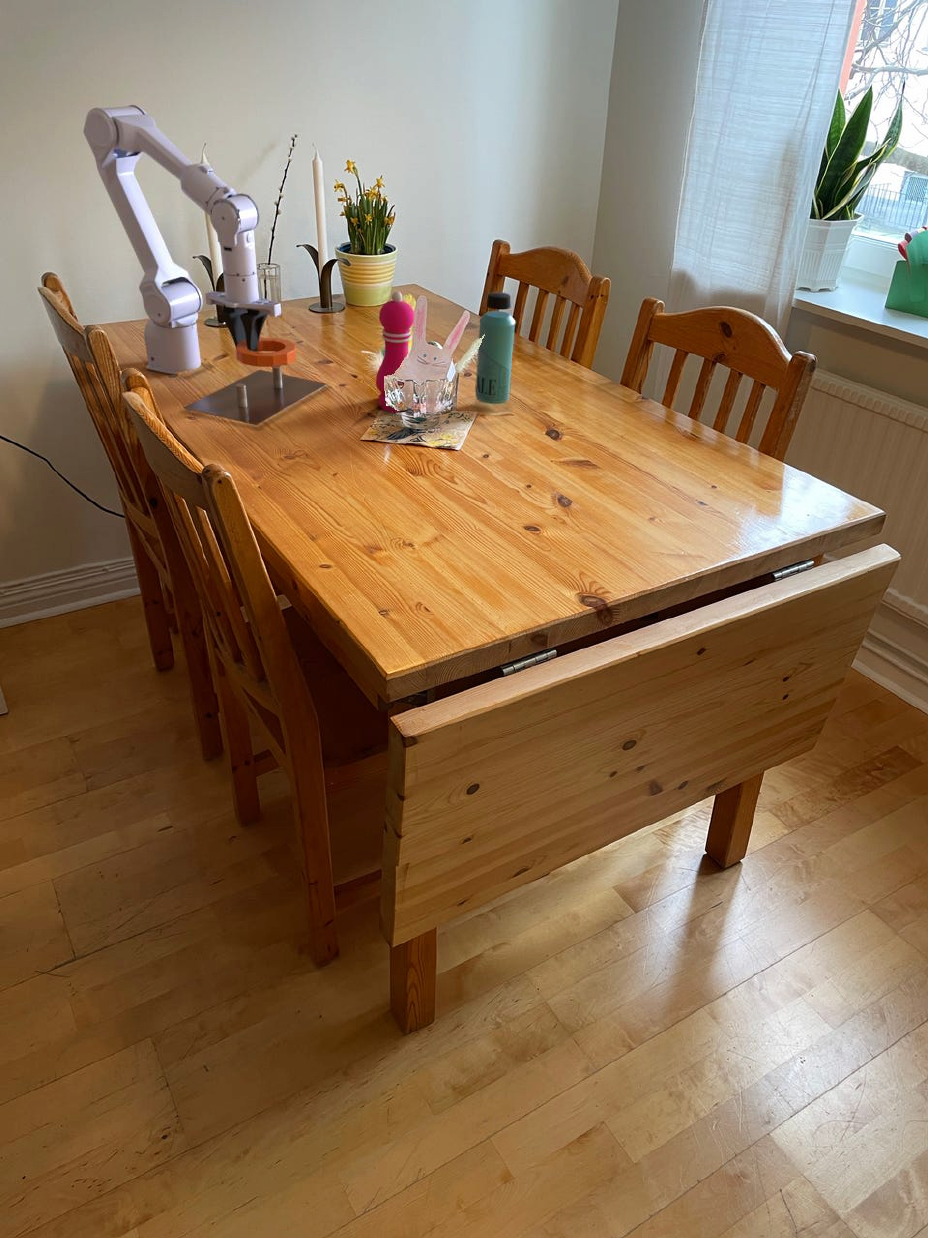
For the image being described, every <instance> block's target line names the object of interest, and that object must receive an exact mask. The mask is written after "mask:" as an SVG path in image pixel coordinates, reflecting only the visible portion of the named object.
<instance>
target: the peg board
mask: <svg viewBox="0 0 928 1238" xmlns="http://www.w3.org/2000/svg"><path fill="white" fill-rule="evenodd" d="M326 386H328V383H325V382H320V381H316V380H312V379H307V378H301V377H297V376H292V375H287V374H283V373H282V365H281V366H275V367H271V371H268V370H263V369H258V370H256V371H254V372H252V373H251V374H248V375H247V376H245V377H242V378H240V379H238V380H236V381H234V382H232V383H230V384H228V385H226V386H224V387H222V388H219V389H218V390H216V391H213V392H212V393H210V394H208V395H206V396H204V397H202V398H200V399H198V400H196V401H194V402H192V403H190V404H188V405H186V406H184V407H183V409H185V410H191V411H194V412H197V413H203V414H207V415H211V416H215V417H220V418H224V419H227V420H233V421H238V422H241V423H245V424H250V425H254V426H258V425H260V424H262V423H264V422H265V421H267V420H268V419H270V418H272V417H274V416H275V415H277V414H279V413H281V412H282V411H284V410H286V409H287V408H289V407H291V406H293V405H295V404H297V403H298V402H300V401H301V400H303V399H305V398H307V397H309V396H310V395H311V394H314V393H315V392H317V391H319V390H321V389H322V388H324V387H326Z"/></svg>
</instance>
